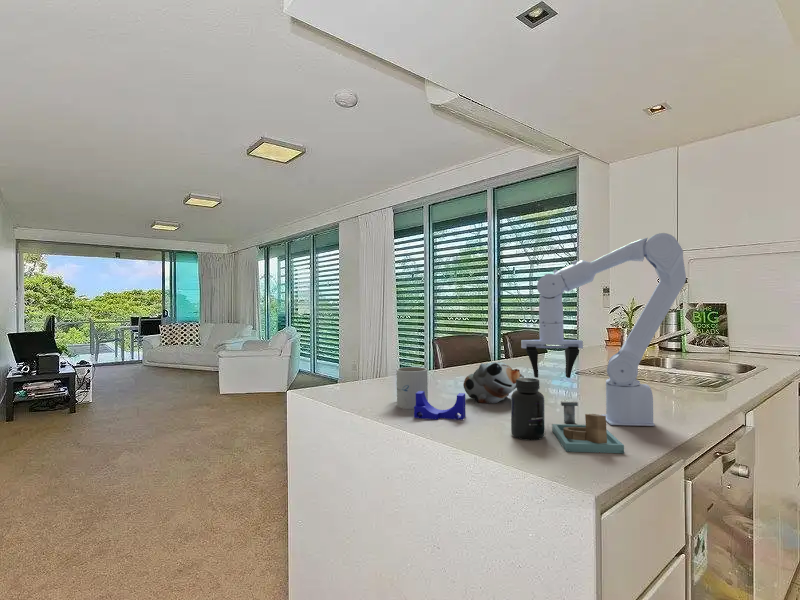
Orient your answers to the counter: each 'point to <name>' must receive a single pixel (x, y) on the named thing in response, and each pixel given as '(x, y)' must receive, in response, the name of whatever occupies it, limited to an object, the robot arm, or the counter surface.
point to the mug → (410, 385)
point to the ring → (589, 430)
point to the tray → (587, 442)
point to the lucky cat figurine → (491, 382)
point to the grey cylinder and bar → (569, 411)
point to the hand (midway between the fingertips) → (552, 377)
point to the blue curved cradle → (429, 412)
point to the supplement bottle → (527, 410)
